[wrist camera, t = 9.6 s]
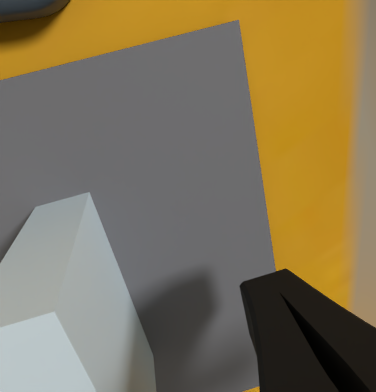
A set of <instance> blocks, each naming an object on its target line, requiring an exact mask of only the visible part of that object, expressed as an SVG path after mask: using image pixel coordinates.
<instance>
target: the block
mask: <svg viewBox="0 0 376 392" xmlns="http://www.w3.org/2000/svg"><path fill="white" fill-rule="evenodd" d="M0 392H156V382H155V370H154V357H153V353H152V351H151V348H150V346H149V343H148V341H147V338H146V336H145V333H144V330H143V328H142V325H141V323H140V320H139V318H138V315H137V313H136V310H135V307H134V305H133V302H132V300H131V297H130V295H129V292H128V290H127V287H126V284H125V282H124V279H123V277H122V274H121V272H120V269H119V267H118V264H117V261H116V259H115V256H114V254H113V251H112V249H111V246H110V244H109V241H108V238H107V236H106V233H105V231H104V228H103V226H102V223H101V221H100V218H99V215H98V213H97V210H96V208H95V205H94V203H93V200H92V198H91V195H90V192H88V193H84V194H80V195H77V196H73V197H70V198H66V199H62V200H59V201H55V202H51V203H48V204H44V205H41V206H37V207H35V208H34V210H33V212H32V213H31V215H30V216H29V218H28V220H27V221H26V223H25V224H24V226H23V228H22V229H21V231H20V232H19V234H18V236H17V237H16V239H15V240H14V242H13V244H12V245H11V247H10V248H9V250H8V252H7V253H6V255H5V256H4V258H3V260H2V261H1V263H0Z"/></svg>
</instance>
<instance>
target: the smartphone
mask: <svg viewBox="0 0 376 392" xmlns="http://www.w3.org/2000/svg"><path fill="white" fill-rule="evenodd" d="M68 2H69V0H0V23H2V22H10V21H19V20H27V19H35V18H41V17H45V16H49V15H51V14H53V13H55V12H57V11H59V10H60V9H61V8H63V7H64V6H65V5H66V4H67V3H68Z"/></svg>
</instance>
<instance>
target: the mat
mask: <svg viewBox="0 0 376 392" xmlns="http://www.w3.org/2000/svg"><path fill="white" fill-rule="evenodd" d="M88 192H90V195H91V198H92V200H93V203H94V205H95V208H96V210H97V213H98V215H99V218H100V221H101V223H102V226H103V228H104V231H105V233H106V236H107V238H108V241H109V244H110V246H111V249H112V251H113V254H114V256H115V259H116V261H117V264H118V267H119V269H120V272H121V274H122V277H123V279H124V282H125V284H126V287H127V290H128V292H129V295H130V297H131V300H132V302H133V305H134V307H135V310H136V313H137V315H138V318H139V320H140V323H141V325H142V328H143V330H144V333H145V336H146V338H147V341H148V343H149V346H150V348H151V351H152V353H153V357H154V370H155V382H156V392H242V391H245V390H248V389H252V388H255V387H258V386H259V375H258V363H257V356H256V352H255V349H254V346H253V343H252V340H251V337H250V335H249V330H248V325H247V320H246V315H245V311H244V306H243V301H242V296H241V291H240V287H239V286H240V285H241V283H242V282H243V281H246V280H250V279H253V278H256V277H260V276H263V275H266V274H269V273H273V272H276V269H275V262H274V256H273V249H272V242H271V235H270V229H269V222H268V215H267V208H266V201H265V195H264V188H263V181H262V174H261V168H260V161H259V154H258V147H257V140H256V134H255V127H254V120H253V113H252V106H251V100H250V93H249V86H248V79H247V73H246V66H245V59H244V52H243V45H242V39H241V32H240V25H239V20H236V21H233V22H229V23H225V24H221V25H217V26H213V27H209V28H205V29H201V30H197V31H193V32H189V33H185V34H181V35H177V36H173V37H169V38H166V39H162V40H158V41H154V42H150V43H146V44H142V45H138V46H134V47H130V48H126V49H122V50H118V51H114V52H110V53H106V54H103V55H99V56H95V57H91V58H87V59H83V60H79V61H75V62H71V63H67V64H63V65H59V66H55V67H51V68H47V69H43V70H40V71H36V72H32V73H28V74H24V75H20V76H16V77H12V78H8V79H4V80H0V263H1V261H2V260H3V258H4V256H5V255H6V253H7V252H8V250H9V248H10V247H11V245H12V244H13V242H14V240H15V239H16V237H17V236H18V234H19V232H20V231H21V229H22V228H23V226H24V224H25V223H26V221H27V220H28V218H29V216H30V215H31V213H32V212H33V210H34V208H35V207H37V206H41V205H44V204H48V203H51V202H55V201H59V200H62V199H66V198H70V197H73V196H77V195H80V194H84V193H88Z"/></svg>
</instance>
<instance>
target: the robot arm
mask: <svg viewBox="0 0 376 392" xmlns="http://www.w3.org/2000/svg"><path fill="white" fill-rule="evenodd" d="M239 287H240V291H241V296H242V301H243V306H244V311H245V315H246V320H247V325H248V330H249V335H250V337H251V340H252V343H253V346H254V349H255V352H256V356H257V363H258V375H259V387H260V392H376V328H375V327H373V326H371V325H370V324H368V323H367V322H365V321H363V320H362V319H360V318H359V317H357V316H356V315H354V314H352V313H351V312H349V311H348V310H346V309H345V308H343V307H341V306H340V305H338V304H337V303H335V302H334V301H332V300H331V299H329V298H328V297H326V296H325V295H323V294H322V293H321V292H319V291H318V290H316V289H315V288H313V287H312V286H310V285H309V284H308V283H306V282H305V281H303V280H302V279H301V278H299V277H298V276H296V275H295V274H294V273H292V272H291V271H289V270H287V269H283V270H279V271H276V272H273V273H269V274H266V275H263V276H260V277H256V278H253V279H250V280H246V281H243V282H242V283H241V285H240V286H239Z"/></svg>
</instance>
